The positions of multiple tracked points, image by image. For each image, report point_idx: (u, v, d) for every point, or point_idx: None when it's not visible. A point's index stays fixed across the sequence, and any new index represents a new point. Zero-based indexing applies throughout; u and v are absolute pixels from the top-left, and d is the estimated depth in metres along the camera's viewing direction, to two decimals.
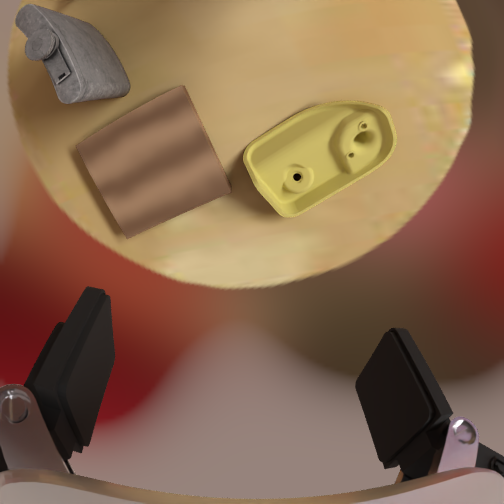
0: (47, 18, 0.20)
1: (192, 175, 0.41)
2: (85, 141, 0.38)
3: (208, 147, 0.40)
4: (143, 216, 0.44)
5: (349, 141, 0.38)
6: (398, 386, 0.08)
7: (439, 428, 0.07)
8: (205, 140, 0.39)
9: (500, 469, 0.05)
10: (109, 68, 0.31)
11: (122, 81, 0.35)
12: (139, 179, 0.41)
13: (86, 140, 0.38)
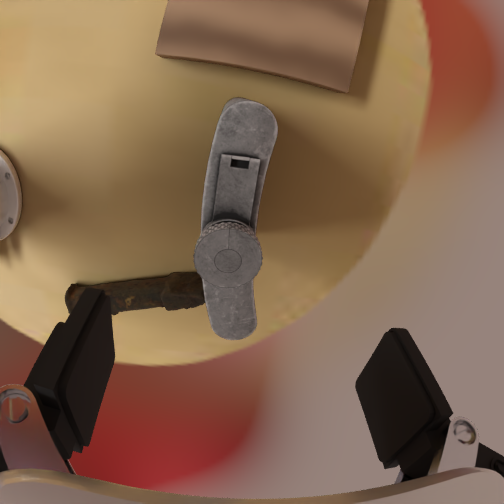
0: None
1: None
2: (330, 84, 0.24)
3: None
4: None
5: None
6: (398, 386, 0.08)
7: (439, 428, 0.07)
8: None
9: (500, 469, 0.05)
10: None
11: None
12: None
13: (328, 84, 0.24)
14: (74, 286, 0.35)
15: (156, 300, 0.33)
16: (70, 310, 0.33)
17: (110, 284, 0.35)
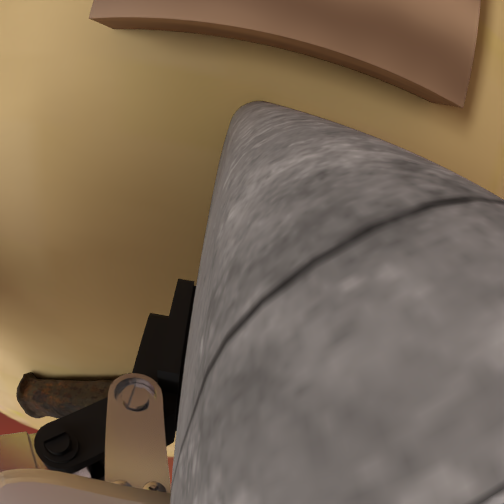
0: None
1: None
2: (438, 88, 0.11)
3: None
4: None
5: None
6: None
7: None
8: None
9: None
10: None
11: (228, 131, 0.12)
12: None
13: (434, 87, 0.11)
14: (28, 378, 0.22)
15: None
16: (26, 410, 0.20)
17: (70, 383, 0.22)
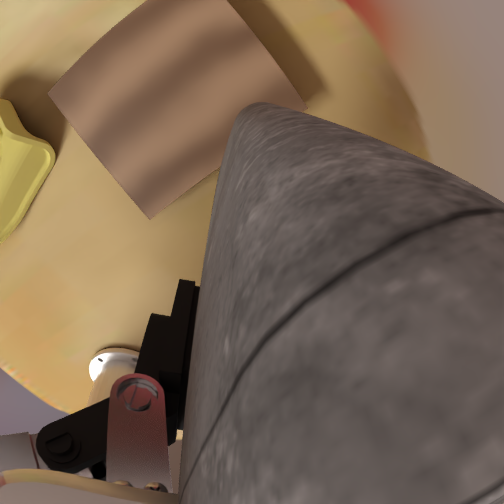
0: None
1: (99, 97, 0.23)
2: None
3: (88, 144, 0.24)
4: (168, 10, 0.20)
5: None
6: None
7: None
8: (95, 152, 0.25)
9: None
10: (215, 198, 0.10)
11: (233, 131, 0.12)
12: (180, 66, 0.22)
13: None
14: None
15: None
16: None
17: None
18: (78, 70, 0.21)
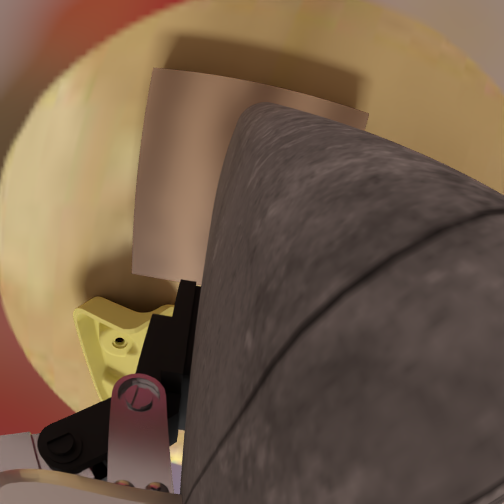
0: None
1: (184, 244, 0.26)
2: None
3: None
4: (171, 126, 0.21)
5: None
6: None
7: None
8: None
9: None
10: (219, 196, 0.10)
11: (237, 130, 0.12)
12: None
13: None
14: None
15: None
16: None
17: None
18: (142, 237, 0.25)
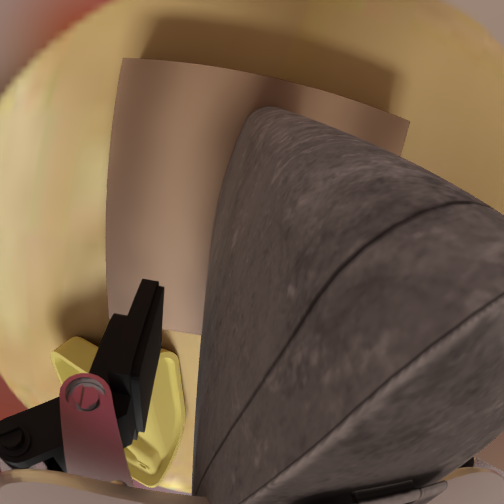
0: None
1: (170, 287, 0.20)
2: (398, 147, 0.16)
3: None
4: (147, 136, 0.15)
5: (130, 450, 0.28)
6: None
7: None
8: None
9: None
10: (229, 193, 0.11)
11: (245, 132, 0.13)
12: None
13: (398, 151, 0.16)
14: None
15: None
16: None
17: None
18: (118, 278, 0.19)
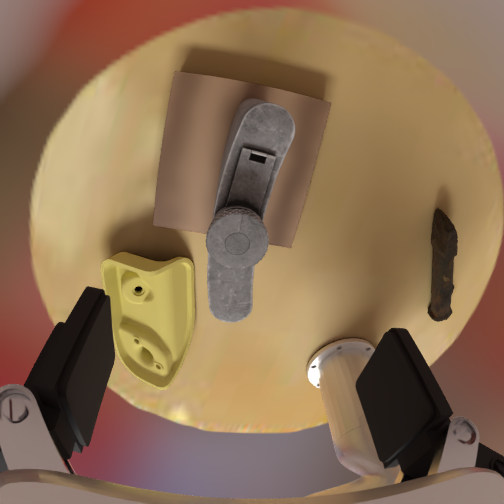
0: None
1: (195, 200, 0.34)
2: (324, 117, 0.30)
3: None
4: (187, 113, 0.29)
5: (150, 350, 0.42)
6: (398, 386, 0.08)
7: (439, 428, 0.07)
8: None
9: (500, 469, 0.05)
10: (230, 132, 0.25)
11: (238, 109, 0.27)
12: None
13: (324, 119, 0.30)
14: (429, 311, 0.47)
15: (448, 260, 0.39)
16: (444, 318, 0.44)
17: (432, 286, 0.44)
18: (163, 195, 0.33)
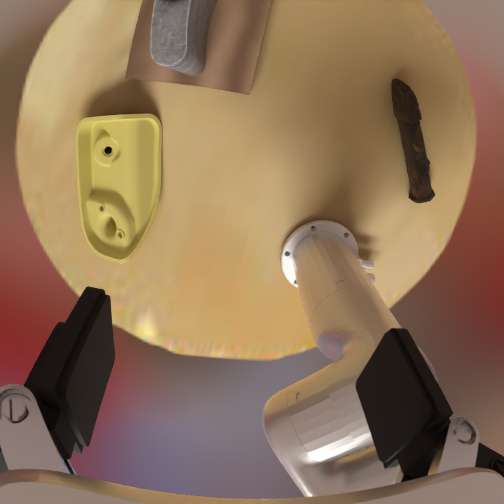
0: None
1: None
2: None
3: (177, 81, 0.34)
4: None
5: (113, 215, 0.40)
6: (398, 386, 0.08)
7: (439, 428, 0.07)
8: (185, 83, 0.35)
9: (500, 469, 0.05)
10: None
11: None
12: None
13: None
14: (410, 195, 0.45)
15: (414, 127, 0.38)
16: (427, 199, 0.43)
17: (407, 163, 0.43)
18: (136, 52, 0.32)
